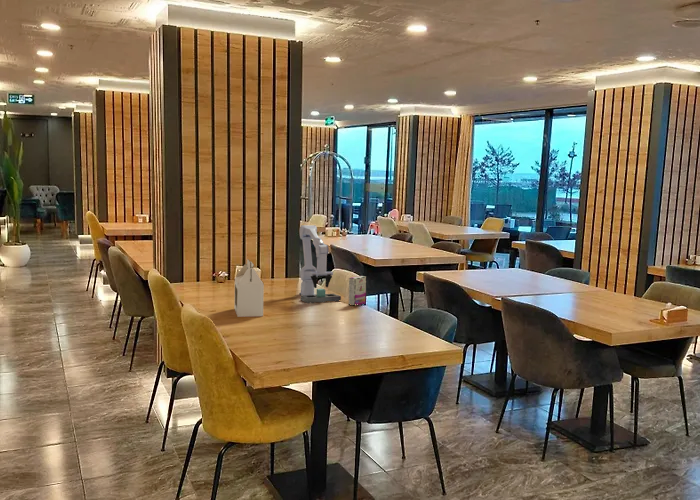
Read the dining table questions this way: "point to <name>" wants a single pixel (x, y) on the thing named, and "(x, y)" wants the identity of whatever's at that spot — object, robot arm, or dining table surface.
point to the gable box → (248, 292)
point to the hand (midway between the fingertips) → (321, 287)
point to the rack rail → (320, 298)
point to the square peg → (321, 292)
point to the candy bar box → (357, 290)
